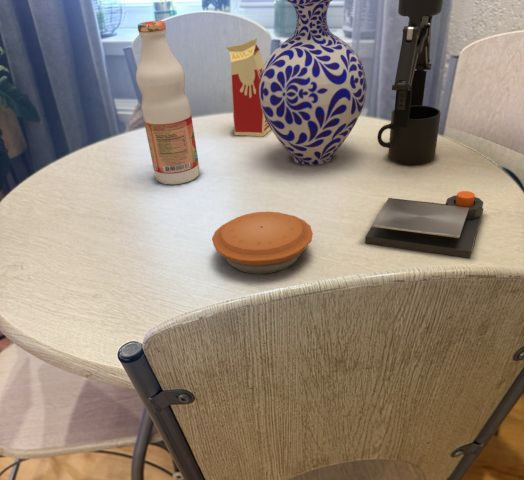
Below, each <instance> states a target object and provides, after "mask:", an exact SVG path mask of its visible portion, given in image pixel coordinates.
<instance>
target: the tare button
mask: <svg viewBox="0 0 524 480" xmlns="http://www.w3.org/2000/svg"><path fill="white" fill-rule="evenodd" d="M456 195H457V196H456ZM456 195H455V196H456V202H455V204H456V205H458V206H462V207H470V206H473V204H474V198H475V197H476V193H474V192H472V191H468V190H461V191H459V192H457V193H456Z"/></svg>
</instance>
